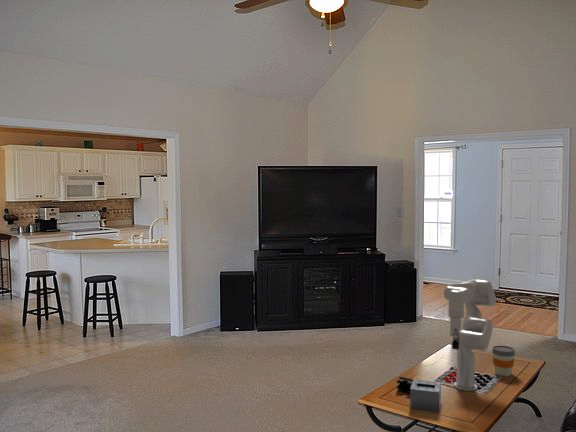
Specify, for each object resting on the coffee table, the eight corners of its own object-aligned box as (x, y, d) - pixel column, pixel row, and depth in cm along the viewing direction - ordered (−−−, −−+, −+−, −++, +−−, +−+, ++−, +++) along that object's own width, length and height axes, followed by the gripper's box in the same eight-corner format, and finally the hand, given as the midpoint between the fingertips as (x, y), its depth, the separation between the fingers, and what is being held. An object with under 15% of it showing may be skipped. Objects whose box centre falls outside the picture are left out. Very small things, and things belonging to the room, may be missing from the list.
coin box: (413, 397, 280) (413, 379, 280) (440, 401, 276) (440, 382, 275) (410, 408, 267) (410, 388, 267) (439, 412, 263) (439, 392, 262)
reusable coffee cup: (492, 368, 325) (493, 344, 325) (515, 371, 320) (515, 347, 319) (490, 375, 314) (491, 350, 313) (513, 378, 309) (514, 352, 308)
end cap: (418, 391, 290) (418, 379, 290) (413, 395, 284) (413, 382, 284) (401, 387, 296) (401, 375, 296) (396, 391, 290) (396, 378, 290)
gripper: (449, 309, 285) (448, 341, 286) (447, 317, 269) (447, 350, 270) (463, 310, 283) (463, 342, 284) (463, 318, 266) (463, 351, 267)
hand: (455, 346), depth 277 cm, fingers open, 9 cm apart
